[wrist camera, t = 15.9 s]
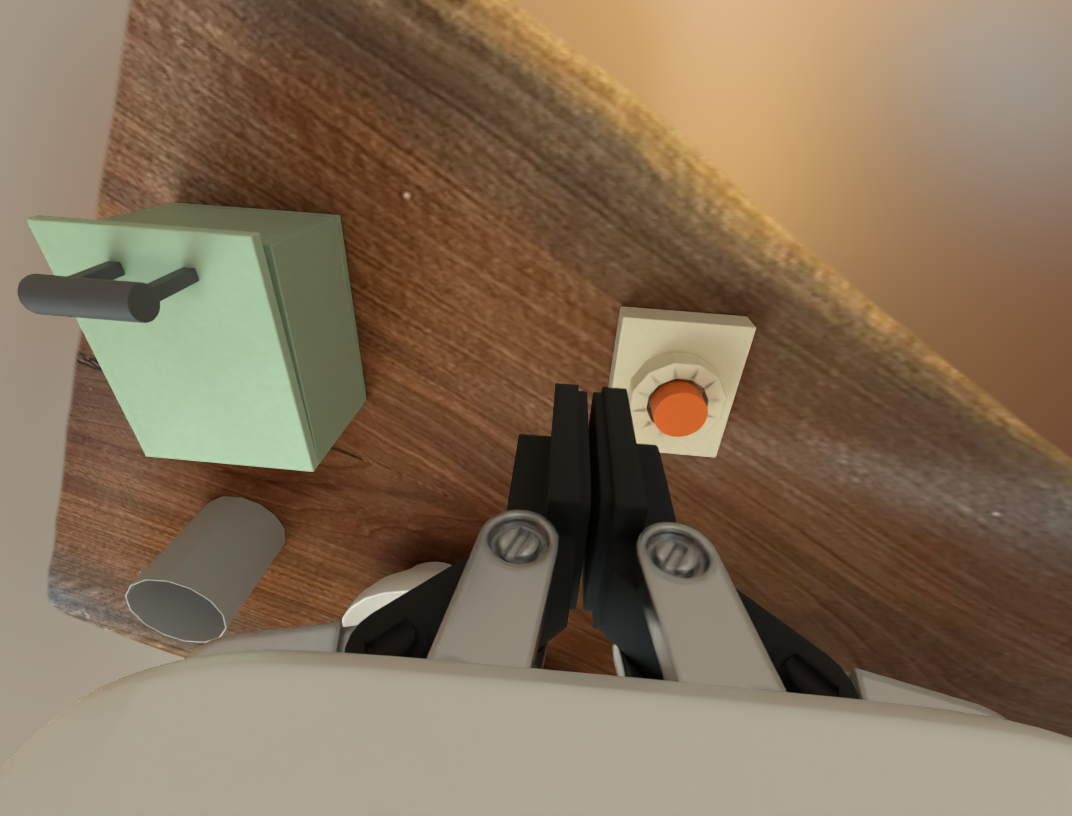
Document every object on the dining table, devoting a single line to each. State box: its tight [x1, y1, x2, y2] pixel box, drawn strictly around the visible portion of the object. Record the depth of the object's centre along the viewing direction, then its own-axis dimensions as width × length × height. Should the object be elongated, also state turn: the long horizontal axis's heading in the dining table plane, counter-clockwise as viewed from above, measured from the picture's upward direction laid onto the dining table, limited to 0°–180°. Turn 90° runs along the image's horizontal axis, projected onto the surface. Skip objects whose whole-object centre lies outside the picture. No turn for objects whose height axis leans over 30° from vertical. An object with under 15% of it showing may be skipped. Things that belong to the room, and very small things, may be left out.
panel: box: [608, 306, 756, 457], centre depth 36 cm, size 11×9×4 cm
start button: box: [651, 381, 708, 437], centre depth 34 cm, size 4×4×2 cm
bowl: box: [342, 562, 451, 627], centre depth 49 cm, size 16×16×7 cm
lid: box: [18, 216, 318, 472], centre depth 27 cm, size 15×12×6 cm
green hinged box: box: [100, 203, 367, 464], centre depth 33 cm, size 15×12×9 cm
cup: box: [125, 496, 286, 643], centre depth 46 cm, size 8×8×10 cm
